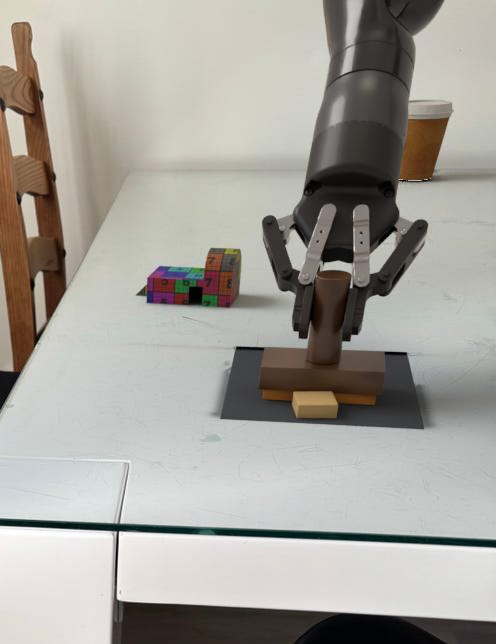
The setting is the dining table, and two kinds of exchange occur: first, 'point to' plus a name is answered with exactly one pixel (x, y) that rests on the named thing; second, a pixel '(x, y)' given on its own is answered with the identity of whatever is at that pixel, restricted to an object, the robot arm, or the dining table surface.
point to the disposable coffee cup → (424, 137)
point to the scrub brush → (324, 354)
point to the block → (198, 281)
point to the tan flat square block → (314, 404)
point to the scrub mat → (388, 411)
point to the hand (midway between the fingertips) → (324, 334)
